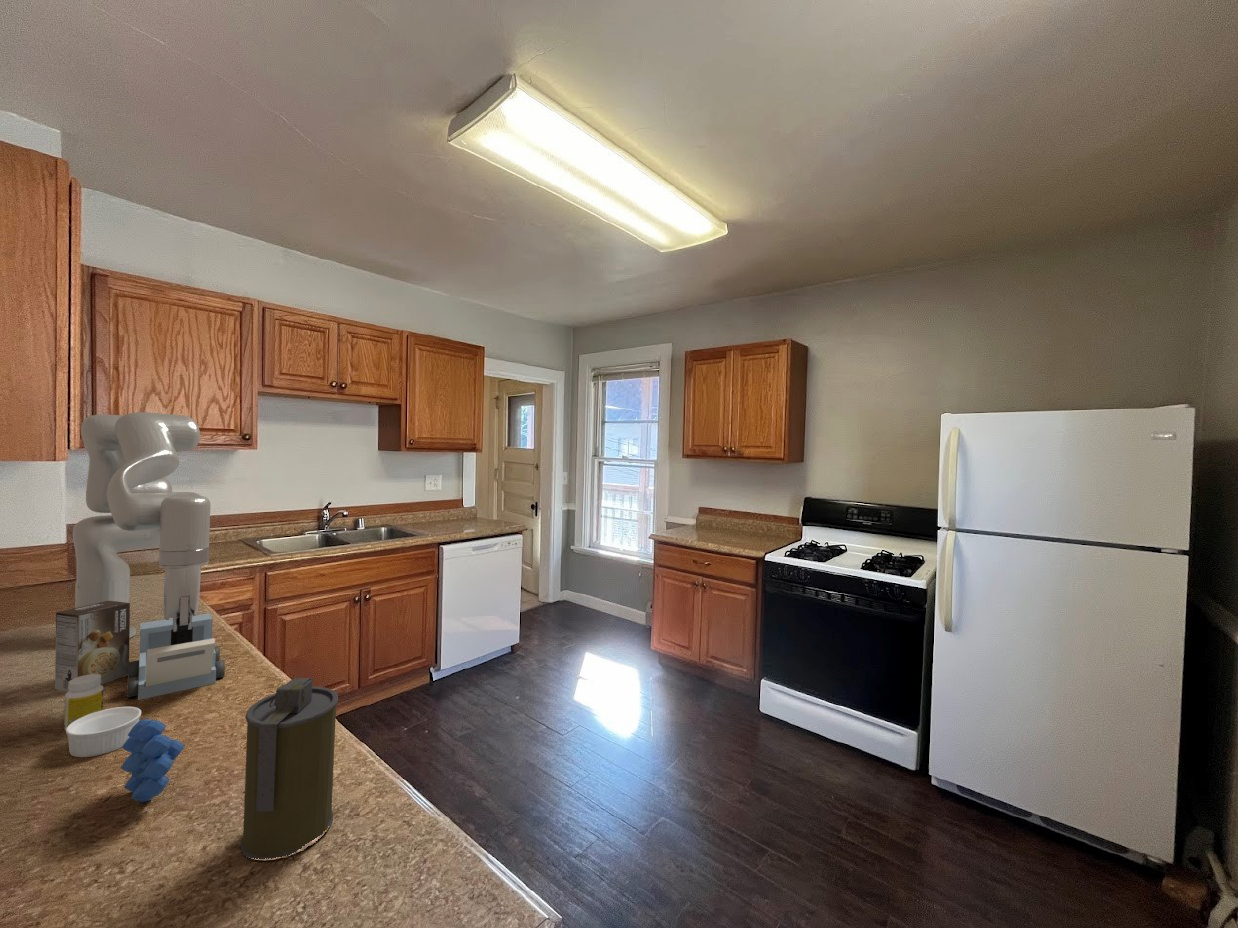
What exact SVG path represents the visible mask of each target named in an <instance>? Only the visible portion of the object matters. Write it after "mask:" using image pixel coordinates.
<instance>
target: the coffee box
mask: <svg viewBox="0 0 1238 928" xmlns="http://www.w3.org/2000/svg"><path fill="white" fill-rule="evenodd" d="M130 619H131V603H130V602H129V603H125V602H118V601H104V602H100V603H95V604H91V605H86V606H82V607H78V608H76V607H74V608H69V609H65V610H61V611H57V612H55V661H54V662H55V663H54V664H55V667H54V675H55V676H54V689H55V690H56V691H61V692H65V693H67V692H68V691H69V690H68V684H69V681H70V680H72V679H74V678H77V677H80V676H84V675H90V674H99V675H101V684H100V685H102V686H103V685H104V684H108V683H110V682H113V681H116V680H118V679H120V678H125V677H127V676H128V672H129V662H130V638H129V636H130V627H131V625H130V624H131V623H130V621H131V620H130Z"/></svg>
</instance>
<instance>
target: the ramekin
mask: <svg viewBox="0 0 1238 928" xmlns="http://www.w3.org/2000/svg"><path fill="white" fill-rule="evenodd" d="M141 715H142V710H141V709H140V708H139V707H137V706H136V707H135V706H118V707H117V706H116V707H111V708H106V709H103V710H101V711H98V712H94V713H91V714H88V715H86V716H84V717H81V718H79V719H77V720H75V721H74V722H72V723H71V724H70V725H69V726H68V727H67V728H66V730H65V734H66V735H67V741H68V742H67V743H68V751H69V754H70V755H71V756H73V757H75V758H91V757H97V756H101V755H106V754H109V753H111V752H114V751H115V752H116V751H117V750H118V749H123V748H122V746H123V745H124V743H125V742H126V741H127V739H128V738H129V736H128V734H129V732H130V730H131V729H132V728H133V726H134V725H135V724H137V723H138V722H139V721H140V718H141Z"/></svg>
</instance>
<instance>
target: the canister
mask: <svg viewBox="0 0 1238 928" xmlns="http://www.w3.org/2000/svg"><path fill="white" fill-rule="evenodd" d="M313 681H314V678H313V677H294V678H293V679H291V680H289V681H287V683H285V684H281V685H280V686H279V687H277V689H276V692H275V693H273V694H270V695H268V696H265V697H263V698H261V699H260V700H258V701H256V702H254V703H253V704H252V705H251V706H250V707H249V708H248V709H247V711H246V713H245V720H246V722H247V723H246V724H247V725H246V750H245V776H244V777H245V778H244V779H245V781H244V803H243V805H244V807H243V809H244V810H243V828H242V829H243V830H242V831H243V833H242V834H243V835H242V839H241V842H240V850H241V853H242V852H243V853H242V854H243V855H244V854H245V855H246V856H247V857H250V858H254V859H255V858H256V859H258V858H259V859H265V858H266V859H267V858H268V859H269V858H271V859H272V858H276V857H282V856H286V855H287V856H288V855H290V854H292V853H294V852H296V851H297V850H298V849H301V848H302V846H305V844H307V843H309V842H310V841H312V840H314V839H315V838H317V837H318V836H320V835H322V834H323V831H325V830H327V828H328V826H332V824H333V822H334V811H333V809H332V808H333V786H334V783H333V782H334V767H335V766H334V764H335V763H334V761H335V760H334V759H335V740H336V739H335V738H336V718H337V716H336V715H337V703H338V702H339V695H338V693H337V692H336V691H335V690H333V689H330V688H327V687H325V686H313ZM332 821H333V822H332ZM245 855H244V856H245ZM247 857H246V858H247Z"/></svg>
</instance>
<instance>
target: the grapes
mask: <svg viewBox="0 0 1238 928" xmlns="http://www.w3.org/2000/svg"><path fill="white" fill-rule="evenodd" d="M166 727H167V725H166V724H165V723H164V722H162V721H160V720H157V719H156V720H155V719H147V718H142V719H139V722H138V723H137V724H135V725H134V726H133V728H132V729H131V730H130V732H129V734H128V736H129V738H128V739H127V741H126V742H125V743H124V745H123V746H122V748H121V749H123V750H124V751H126V752H128V753H131V754H130V755H129V756H127V757H126V759H125V760H124V761H123V763H122V765H121V766H120V769H121V770H123V771H124V772H126V773H131V774H130V775H131V776H130V777H129V779H128V780H127V782H126V783H125V785H124V786H123V788H124V789H126V790H128V791H129V792H132V795H131V798H132V799H133V800H135V801H137V802H140V803H147V802H150V801H152V799H153V798H154V797H157V796H159V795H160V794H161V793H162V792H163V791H164V790H165V788H166V787H167V785H168V783H169V782H170V779H171V778H169V777H168V776H167V774H168V773H169V771H170V770H171V768H172V766H173V764H174V763H175V761H174V760H176V759H177V757H179V755H180V754H181V753H182V751H183V749H184V747H185V746H186V745H185V744H184V743H182V742H181V741H179V740H175V739H172V738H170V737H169V736H167V735H165V734H164V735H163V734H162V733H163V732H164V731H165V729H166Z"/></svg>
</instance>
